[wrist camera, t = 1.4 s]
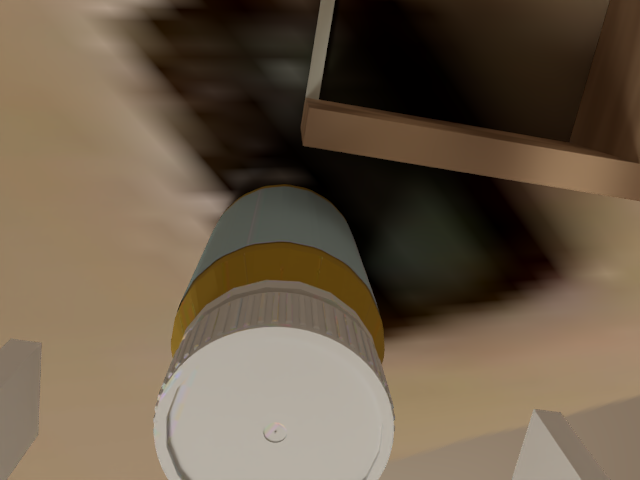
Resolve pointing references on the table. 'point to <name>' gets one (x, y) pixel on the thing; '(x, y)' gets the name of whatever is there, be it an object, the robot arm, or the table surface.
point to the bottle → (276, 351)
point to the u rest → (499, 146)
